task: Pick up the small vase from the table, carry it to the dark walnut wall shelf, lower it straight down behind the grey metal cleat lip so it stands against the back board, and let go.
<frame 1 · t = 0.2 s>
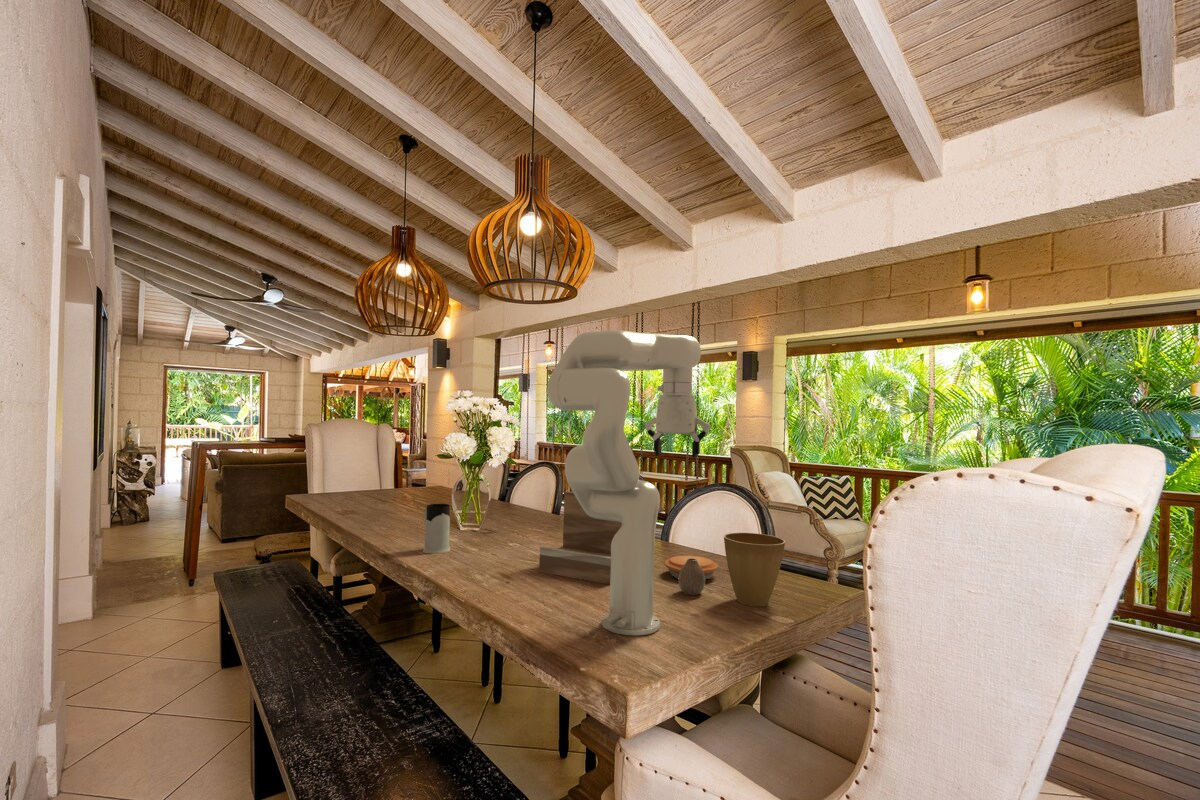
hand: (676, 456, 145), 36 cm above the table, tool pointing down, fingers open, 9 cm apart
vase: (691, 593, 147), on the table
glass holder: (433, 549, 189), on the table
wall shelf: (585, 573, 164), on the table
pie: (690, 576, 164), on the table
plant pot: (753, 602, 141), on the table
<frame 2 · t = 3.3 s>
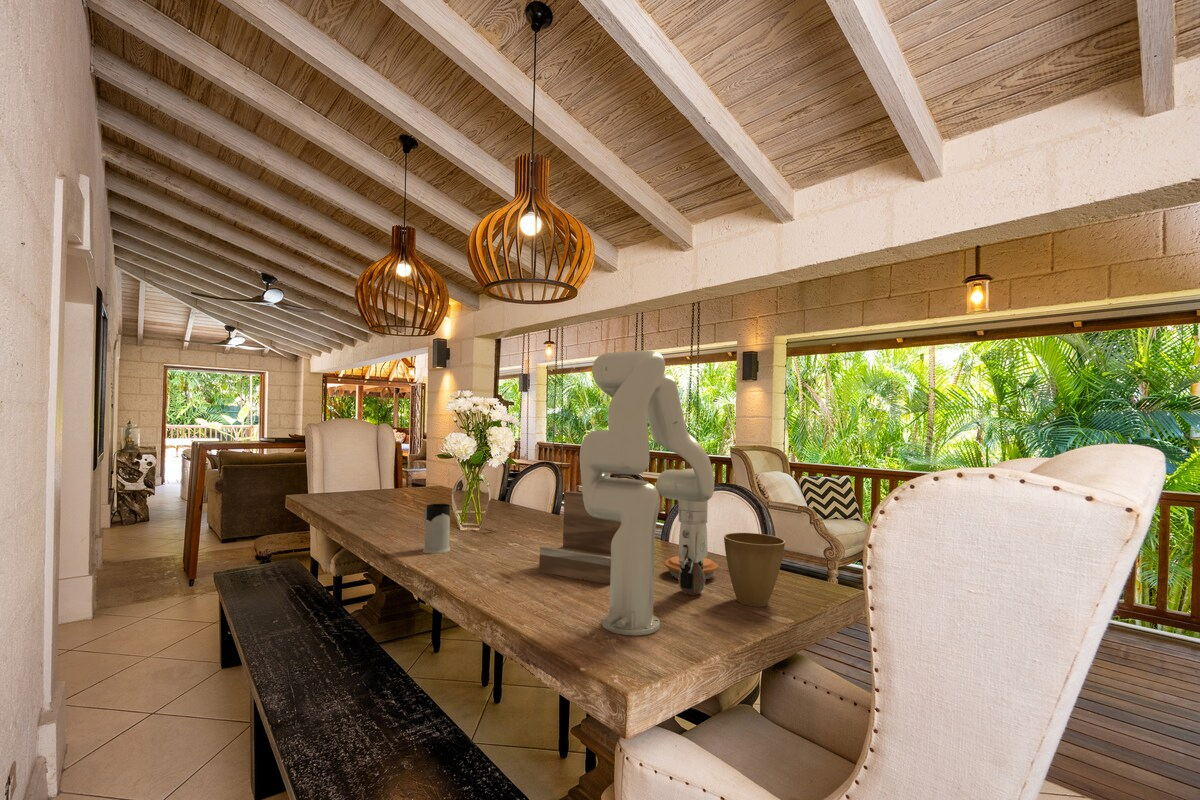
hand: (691, 584, 147), 2 cm above the table, tool pointing down, fingers closed on vase, 6 cm apart
vase: (691, 593, 147), on the table, touching gripper
everything else where it was.
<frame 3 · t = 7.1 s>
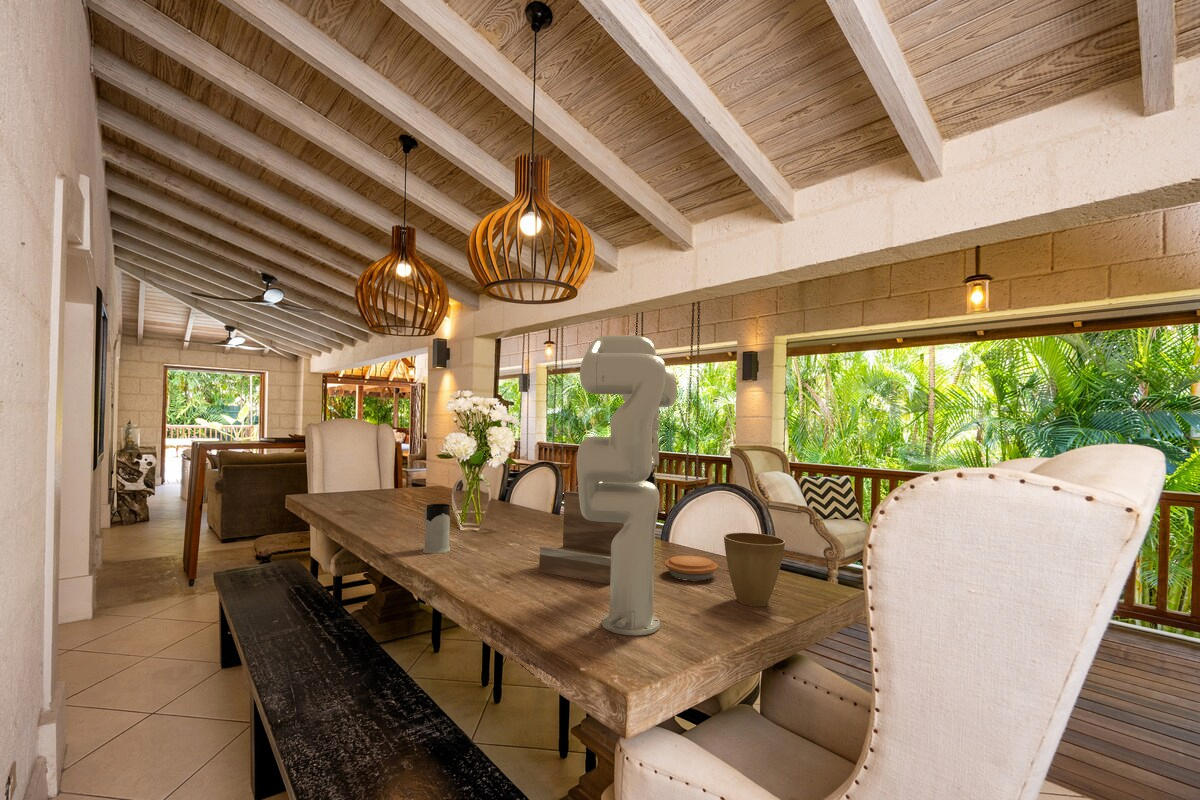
hand: (644, 489, 156), 26 cm above the table, tool pointing down, fingers closed on vase, 6 cm apart
vase: (644, 498, 155), point 23 cm above the table, touching gripper
everything else where it was.
when the fingers open (8 cm above the table, at t = 11.1 s): vase drops 1 cm, resting on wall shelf.
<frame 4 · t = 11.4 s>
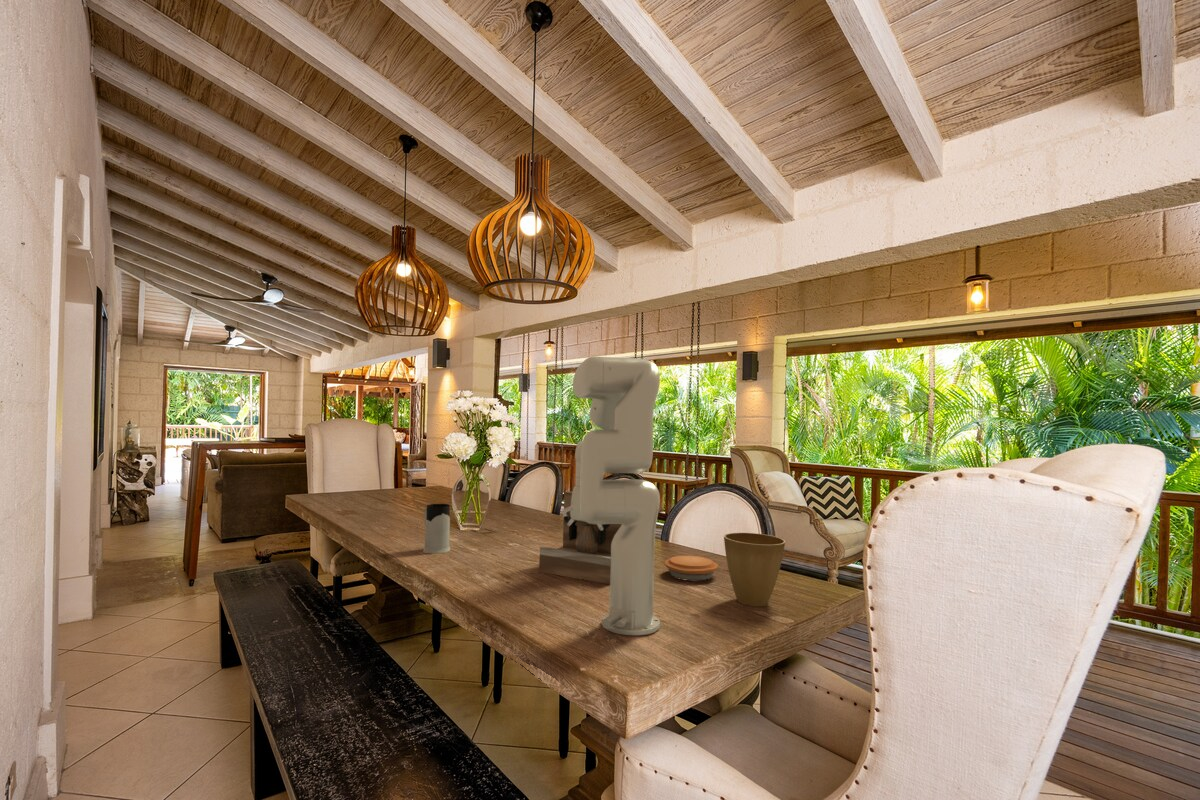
hand: (586, 541, 165), 9 cm above the table, tool pointing down, fingers open, 9 cm apart
vase: (587, 556, 164), point 5 cm above the table, touching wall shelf
everything else where it was.
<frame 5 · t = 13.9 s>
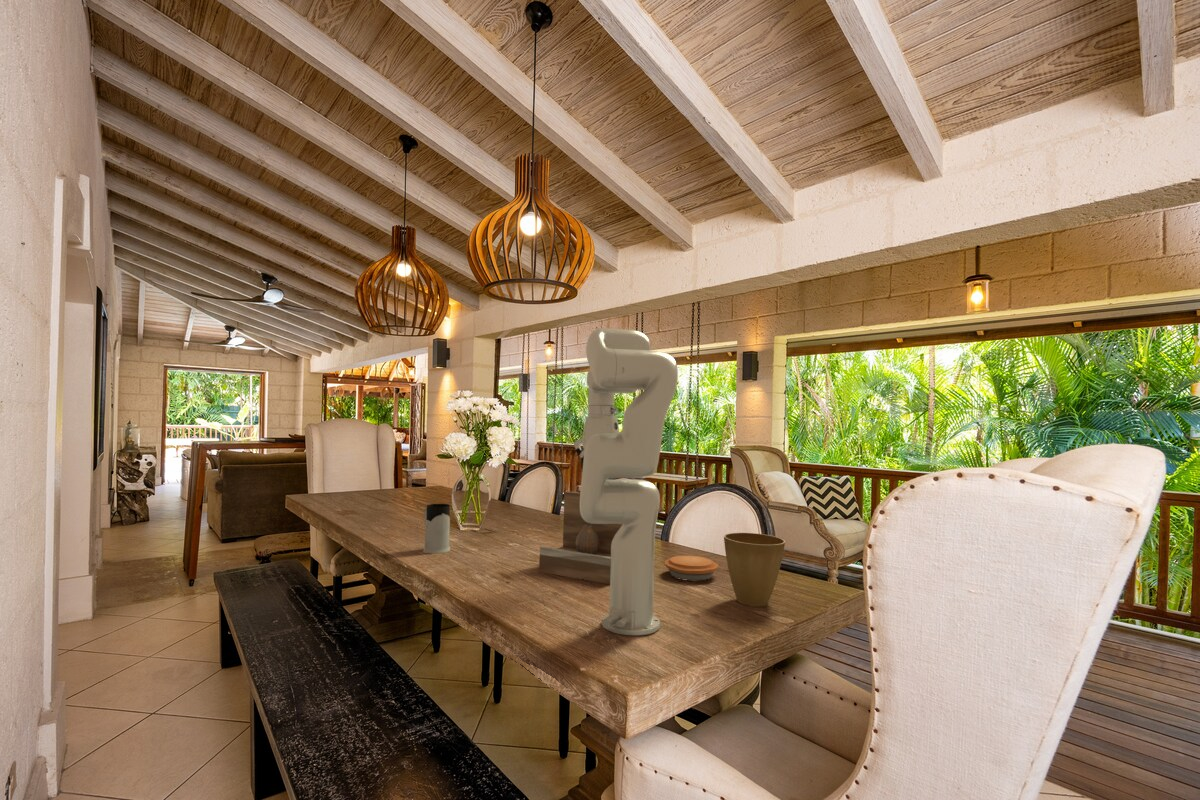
hand: (600, 472, 159), 30 cm above the table, tool pointing down, fingers open, 9 cm apart
nothing on the table moved.
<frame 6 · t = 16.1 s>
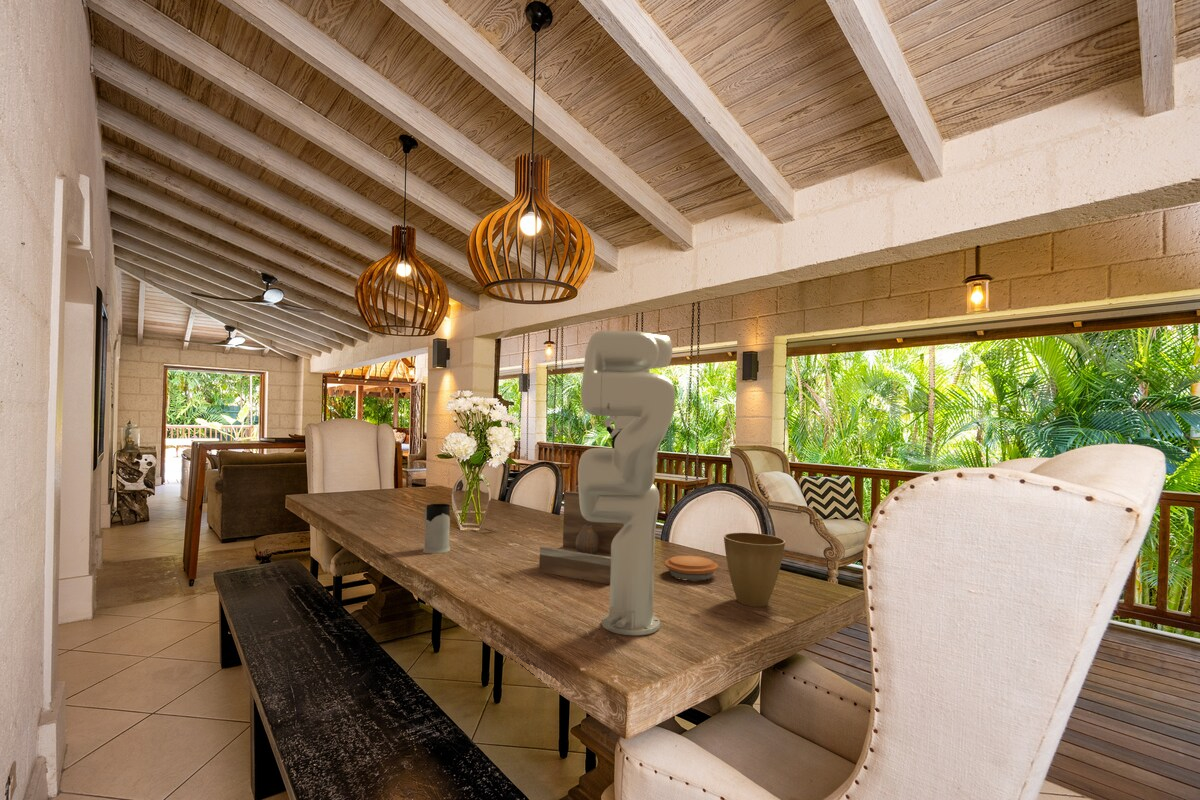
hand: (633, 453, 146), 36 cm above the table, tool pointing down, fingers open, 9 cm apart
nothing on the table moved.
at the end: vase inside the target area on the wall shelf (0.5 cm from its centre), point 4.8 cm above the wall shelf's base; vase tilted 0°; the gripper is holding nothing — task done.
